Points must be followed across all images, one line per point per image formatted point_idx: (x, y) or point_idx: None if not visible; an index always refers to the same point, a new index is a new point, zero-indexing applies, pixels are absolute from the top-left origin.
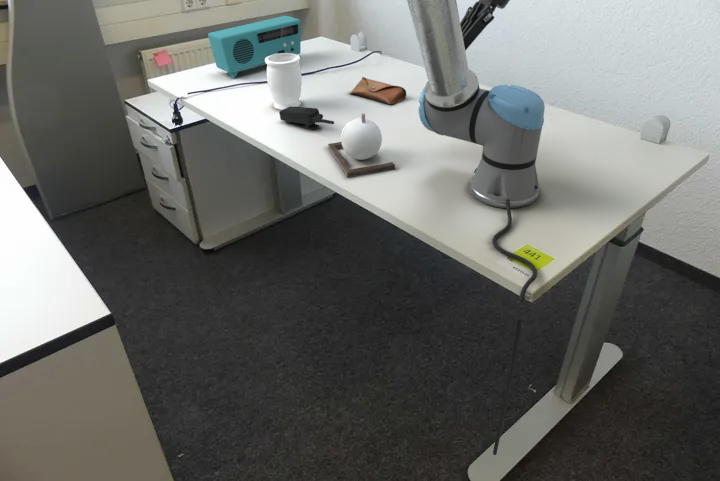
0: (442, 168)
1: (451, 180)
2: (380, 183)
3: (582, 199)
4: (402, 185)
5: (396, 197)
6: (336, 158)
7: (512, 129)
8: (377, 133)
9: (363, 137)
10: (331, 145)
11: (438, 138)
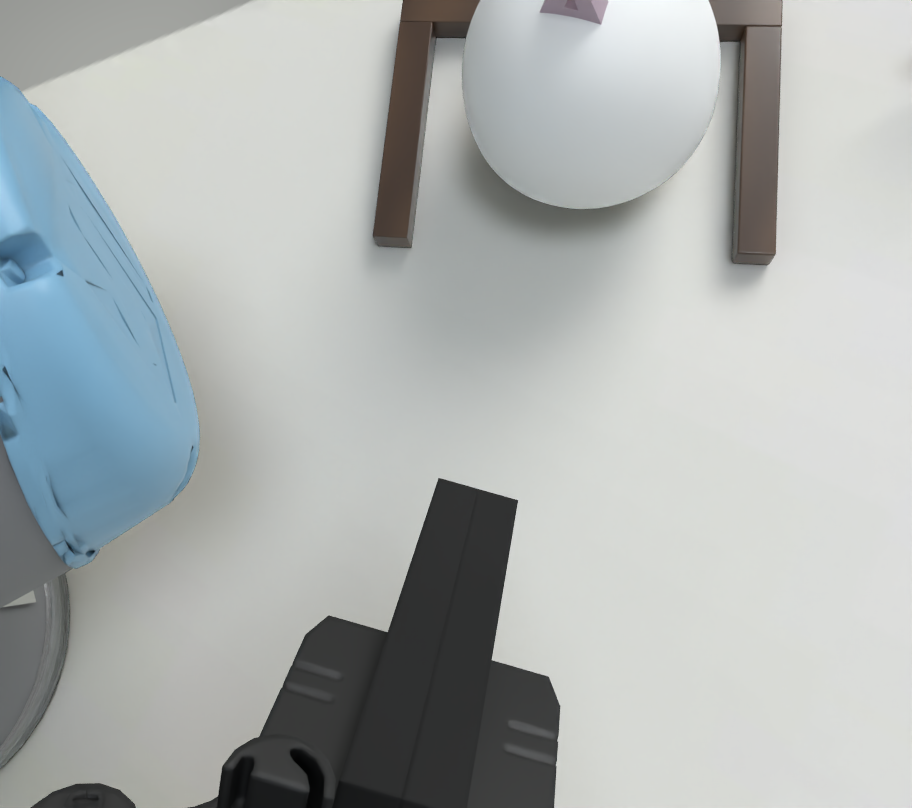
0: (264, 478)
1: None
2: (281, 130)
3: None
4: (214, 215)
5: (135, 149)
6: None
7: None
8: (491, 113)
9: (474, 18)
10: (752, 9)
11: (626, 670)
